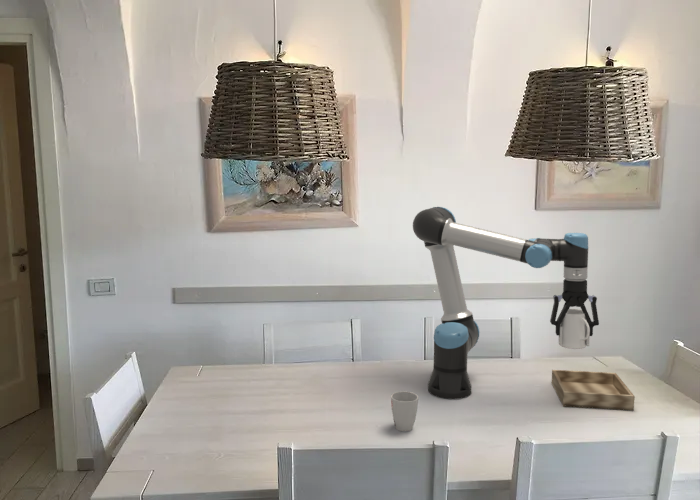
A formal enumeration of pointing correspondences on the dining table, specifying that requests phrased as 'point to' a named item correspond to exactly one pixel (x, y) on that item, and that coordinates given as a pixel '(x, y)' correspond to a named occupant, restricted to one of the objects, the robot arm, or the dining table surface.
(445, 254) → the robot arm
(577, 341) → the mug
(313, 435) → the dining table surface
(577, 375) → the tray
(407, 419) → the cup
